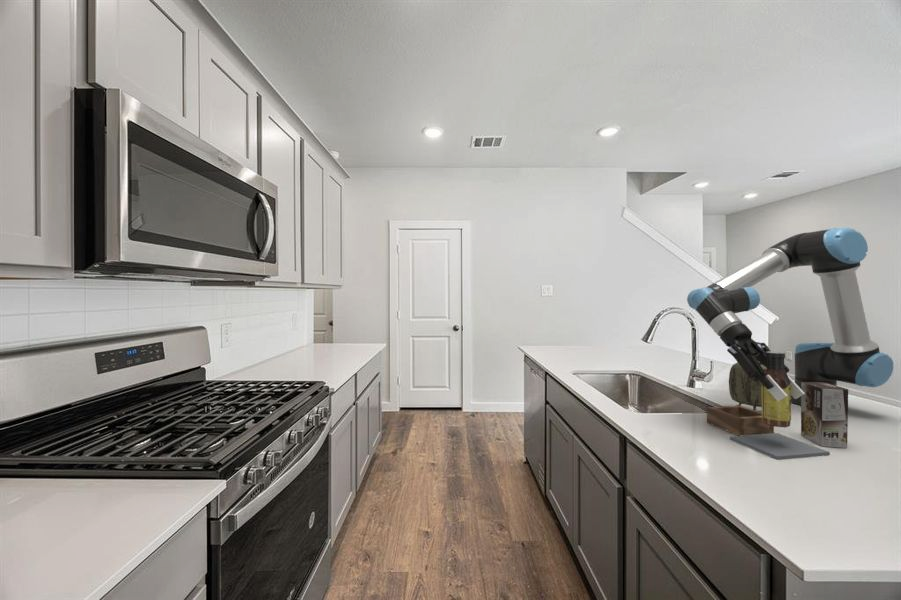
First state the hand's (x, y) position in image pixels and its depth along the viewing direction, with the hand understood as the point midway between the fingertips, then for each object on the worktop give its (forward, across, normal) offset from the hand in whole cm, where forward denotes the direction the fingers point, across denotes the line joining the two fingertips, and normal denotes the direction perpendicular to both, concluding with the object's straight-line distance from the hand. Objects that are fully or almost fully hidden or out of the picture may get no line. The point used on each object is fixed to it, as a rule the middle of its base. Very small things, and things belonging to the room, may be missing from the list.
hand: (791, 397), depth 106 cm
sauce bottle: (+4, 0, -9) cm, 9 cm away
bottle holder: (-2, -6, -23) cm, 24 cm away
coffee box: (+9, -17, -12) cm, 23 cm away
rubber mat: (+8, -1, -13) cm, 15 cm away
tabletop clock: (-7, -25, -28) cm, 38 cm away
